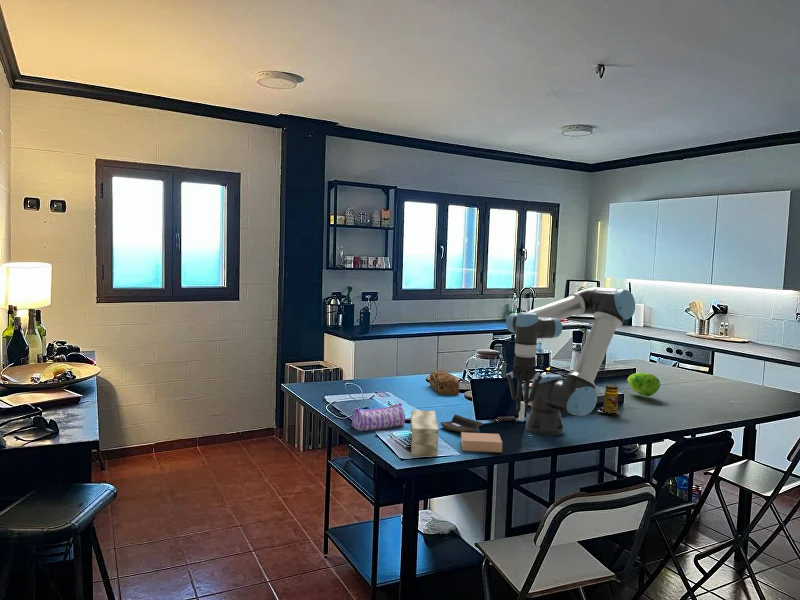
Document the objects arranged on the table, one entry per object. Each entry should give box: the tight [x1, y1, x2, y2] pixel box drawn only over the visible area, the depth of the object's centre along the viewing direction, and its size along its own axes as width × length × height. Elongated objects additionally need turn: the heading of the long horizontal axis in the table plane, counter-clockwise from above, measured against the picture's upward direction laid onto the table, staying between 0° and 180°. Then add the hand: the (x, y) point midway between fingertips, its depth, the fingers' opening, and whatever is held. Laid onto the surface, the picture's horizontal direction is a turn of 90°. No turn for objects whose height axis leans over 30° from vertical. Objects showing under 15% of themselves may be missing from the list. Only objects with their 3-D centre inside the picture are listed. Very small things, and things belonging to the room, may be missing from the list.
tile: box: [460, 431, 503, 453], centre depth 217 cm, size 14×10×4 cm
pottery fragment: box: [440, 414, 483, 433], centre depth 236 cm, size 15×12×4 cm
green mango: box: [627, 372, 661, 397], centre depth 313 cm, size 14×20×12 cm
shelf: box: [409, 409, 440, 457], centre depth 217 cm, size 9×24×10 cm, turn 0°
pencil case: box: [351, 402, 406, 432], centre depth 235 cm, size 22×9×10 cm, turn 126°
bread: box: [429, 370, 460, 396], centre depth 301 cm, size 19×11×10 cm, turn 12°
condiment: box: [597, 384, 619, 414], centre depth 274 cm, size 7×8×12 cm
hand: (521, 419), depth 216 cm, fingers closed
